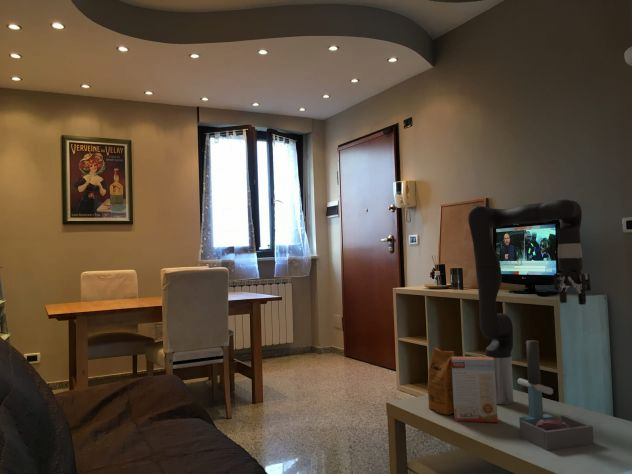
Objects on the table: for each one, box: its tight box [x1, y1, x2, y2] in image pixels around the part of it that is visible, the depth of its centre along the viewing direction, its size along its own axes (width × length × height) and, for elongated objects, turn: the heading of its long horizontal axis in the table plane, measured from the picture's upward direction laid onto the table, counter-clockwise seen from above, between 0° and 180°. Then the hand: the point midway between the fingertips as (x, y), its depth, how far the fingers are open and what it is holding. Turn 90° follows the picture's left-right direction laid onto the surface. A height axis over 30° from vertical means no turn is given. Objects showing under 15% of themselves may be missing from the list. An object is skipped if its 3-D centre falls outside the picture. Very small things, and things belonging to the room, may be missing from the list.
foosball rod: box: [517, 339, 554, 426], centre depth 157 cm, size 14×10×28 cm
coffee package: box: [427, 347, 457, 416], centre depth 181 cm, size 10×12×22 cm
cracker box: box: [452, 356, 499, 424], centre depth 170 cm, size 14×6×21 cm, turn 74°
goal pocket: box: [519, 414, 595, 451], centre depth 148 cm, size 12×16×5 cm
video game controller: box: [536, 419, 570, 431], centre depth 149 cm, size 10×5×7 cm, turn 62°
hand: (572, 303), depth 173 cm, fingers open, 8 cm apart
